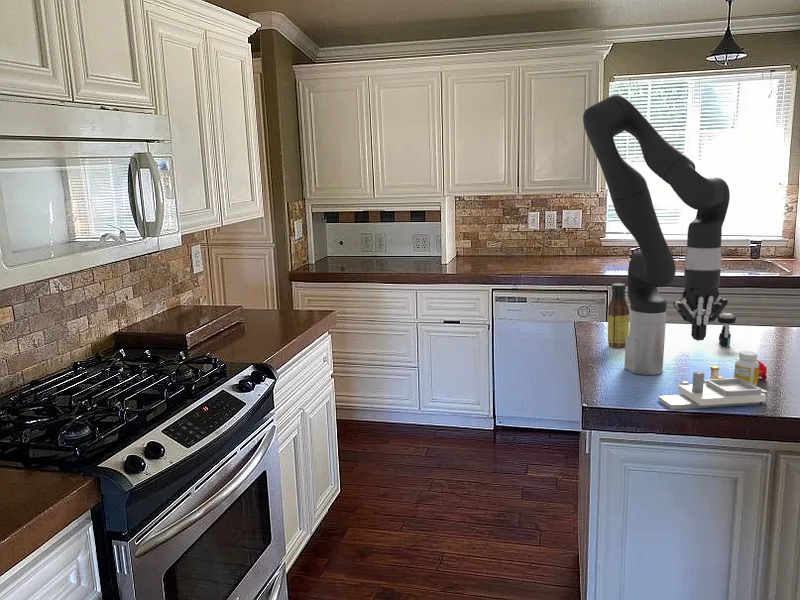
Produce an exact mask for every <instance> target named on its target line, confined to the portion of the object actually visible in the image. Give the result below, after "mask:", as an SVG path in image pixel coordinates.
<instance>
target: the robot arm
mask: <svg viewBox="0 0 800 600" xmlns="http://www.w3.org/2000/svg"><path fill="white" fill-rule="evenodd" d="M582 122H583V127H584V131H585V133H586V135H587V138H588V141H589V142H590V145H591V147H592V150H593V152H594V154H595V156H596V158H597V160H598V163H599V166H600V168H601V172H602V174H603V176H604V179H605V183H606V185H607V189H608V192H609V196H610V198H611V202H612V205H613V208H614V211H615V214H616V215H617V217H618V219H619V220H620V222H621V223H622V224H623V226H624V227H625V228H626V229H627V231H628V232H629V233H630V234H631V236H632V237H633V238H634V240H635V241H636V242H637V245H638V247H639V249H640V250H638V251H636V252H635V253H634V254H633V255H632V256H631V258H630V261H629V262H628V268H627V298H628V301H629V304H630V306H629V307H630V308H629V309H630V311H629V335H626V344H625V348H624V364H623V365H624V367H623V368H624V369H626V370H628V371H629V372H630V373H632V374H634V375H644V376H646V375H647V376H648V375H649V376H651V375H652V376H653V375H660V374H661V373H663V372H664V371H663V370H664V354H665V339H666V324H667V323H666V320H667V308H668V307H667V306H668V305H667V304H668V302H667V300H666V299H665V297H663V295H662V294H661V293H660V292H659V290H658V288H666V287H668V286H669V285H670V284H672V282H674V279H675V277H676V270H677V269H676V268H677V267H676V263H675V259H674V257H673V254H672V252H671V250H670V248H669V245H668V243H667V240H666V238H665V236H664V233H663V231H662V228H661V226H660V225H661V224H660V223H659V219H658V216H657V213H656V211H655V207H654V203H653V200H652V197H651V193H650V190H649V187H648V183H647V180H646V178H645V177H644V176H643V175H642V174H641V173H640V172H639V171H638V170H637V169H635V168H634V167H633V166H632V165H631V164H629V163H628V162H626V160H625V159H624V158H623V157H622V156H621V154H620V153H619V150H618V149H617V148H618V147H617V146H616V143H615V140H614V137H616V136H617V135H620V134H621V133H624V132H627V133H628V134H630V135H631V136H633V137H634V139H636V141H637V142H638V144H639V146H640V149H641V153H642V156H643V160H644V162H645V164H646V166H647V167H648V168H649V169H650V170H651V171H652V172H653V173H654V174H655V175H656V176H658V177H659V178H660V179H662V180H663V181H664V182H665V183H666V184H668V185H669V186H670V187H671V189H672V190H673V191H674V193H675V194H676V195H677V197H678V198H679V199H680V200H681V201H682V202H683V203H684V204H685V205H687V206H688V207H690V208H692V209H694V210H696V215H695V218H694V220H692V221H691V222H690V223H689V225H688V228H687V237H686V239H687V240H686V241H687V242H686V251H685V256H684V270H683V271H684V274H683V287H684V290H683V292H682V297H681V298H680V299H678V300H675V301H673V302H672V305H673V306H674V308H675V310H676V312H677V313H679V315H680V316H681V318H682V319H683V321H685V322H687V323H690V324H691V331H690V332H691V335H690V336H691V338H692V339H693V340H694V341H697V342H698V341H704V340H705V338H706V336H707V325H708V324H709V323H711V322H715V321H716V319H718V318H717V317H718V316H720V315H721V313H722V311H723V310H724V309H725V307H726V306H727V305H728V303H729V302H728V300H727V299H725V298H722V297H721V295H720V291H719V287H720V283H721V270H722V268H721V267H722V235H723V234H722V230H723V226H724V222H725V219H726V217H727V213H728V208H729V204H730V198H731V197H730V196H731V194H730V187H729V184H728V183H727V182H726V180H724V179H722V178H720V177H717V176H712V177H705V176H703V175H701V174H700V173H699V172H698V171H697V170H696V165H695V163H694V162H693V161H692V160H691V158H689V157H688V156H686V155H685V154H684V153H683V152H681V151H680V150H678V148H676V147H674V146H673V145H672V144H671V143H670V142H669V141H667V139H665V138H664V137H663V136H662V135H661V133H659V132H658V131H657V129H655V127H654V126H653V125H652V124H651V123H650V121H648V118H646V117H645V116H644V115H643V114H642V113H641V112H640V111H639V110H638V109H637V107H635V105H634V104H633V103H632V102H631V101H629V100H628V99H627V98H626V97H624V96H622V95H621V94H613V95H610V96H608V97H606V98H604V99H603V100H600V101H598V102H596V103H594V104H592V105H591V106H589V107H587V108H586V109H585V111H584V113H583V116H582ZM687 307H688V308H687Z"/></svg>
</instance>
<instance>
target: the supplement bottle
mask: <svg viewBox="0 0 800 600" xmlns="http://www.w3.org/2000/svg"><path fill="white" fill-rule="evenodd" d="M755 360H758V353H756V352H755V351H752V350H751V351H750V350H741V351H739V352H738V359H737V360H736V361H735V362H734V372H733V378H741V379H743V380H745V381H747V382H749V383H751V384H753V385H755V386H757V387H758V383H757V382H759V379H758V378H759V377H758V372H759V363H758V362H757V361H755Z"/></svg>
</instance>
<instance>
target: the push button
mask: <svg viewBox="0 0 800 600" xmlns="http://www.w3.org/2000/svg"><path fill="white" fill-rule="evenodd" d="M716 319H717V322H718V323H719V324H721V325H722V329H721V332H719V335H718V345H719V346H722V348H730V345H731V336H732V335H731V333H730V332H731V331H730V325H733V324H735V323H736V320H737V317H735V316H734V314H733V313H729V312H721V313H720V314H719V315H718V317H717V318H716Z"/></svg>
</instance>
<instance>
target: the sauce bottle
mask: <svg viewBox="0 0 800 600" xmlns="http://www.w3.org/2000/svg"><path fill="white" fill-rule="evenodd" d="M611 292H612V295H611V300H610V302H609V303H608V305H607V306H608V308H607V309H608V310H607V312H608V313H607V343H608V345H607V346H608V347H610V348H613V349H620V350H621V349H625V344H626V335H629V326H630V311H629V306H628V304H627V301H626V284H625V283H621V282H620V283H619V282H618V283H612V284H611Z"/></svg>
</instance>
